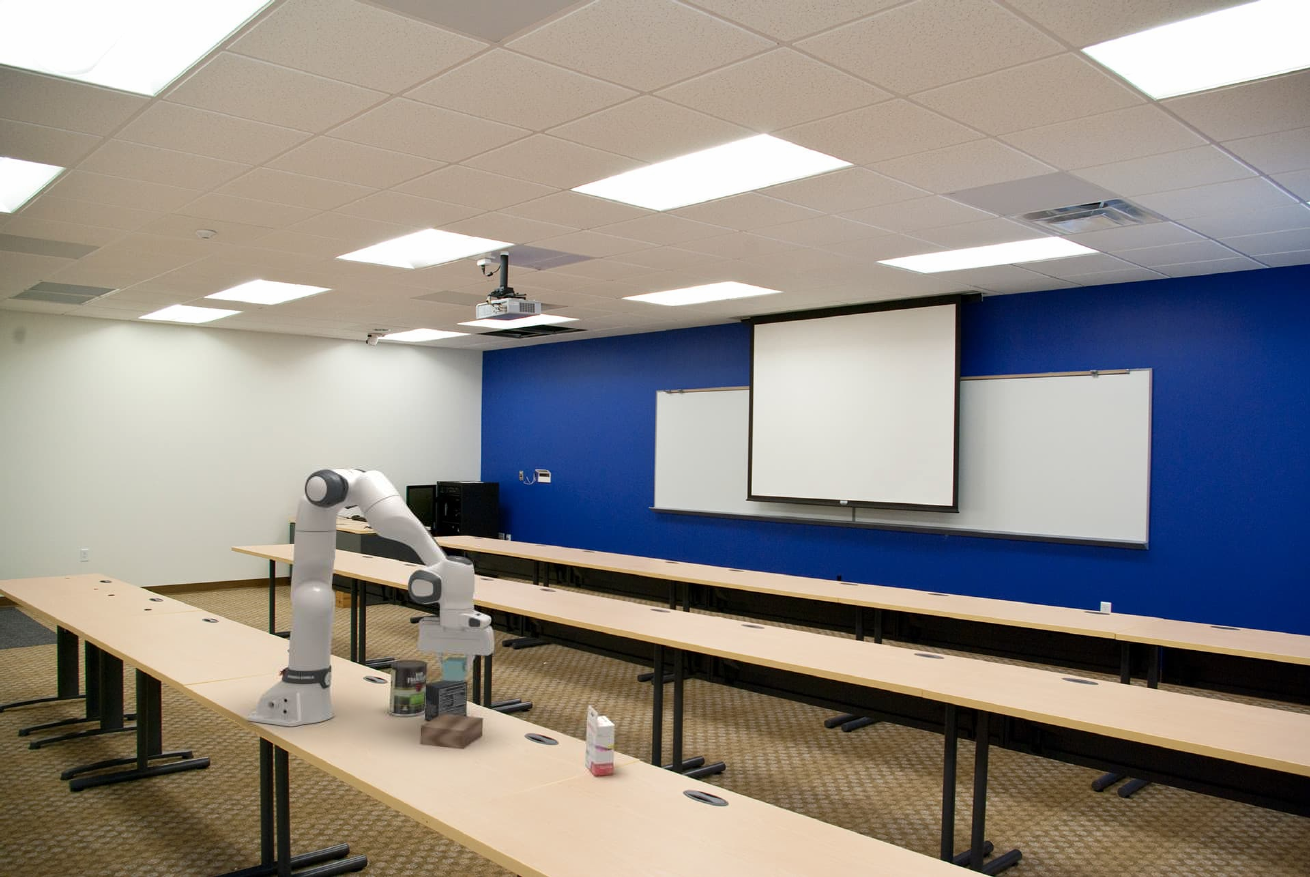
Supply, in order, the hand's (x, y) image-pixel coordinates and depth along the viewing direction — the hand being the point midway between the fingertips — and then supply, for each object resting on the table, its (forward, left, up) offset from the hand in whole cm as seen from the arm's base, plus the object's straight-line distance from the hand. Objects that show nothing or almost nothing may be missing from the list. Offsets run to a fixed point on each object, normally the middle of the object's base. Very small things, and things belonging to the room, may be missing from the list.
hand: (455, 670), depth 227 cm
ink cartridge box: (+42, -15, -18) cm, 48 cm away
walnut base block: (0, 0, -19) cm, 19 cm away
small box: (-8, +18, -19) cm, 27 cm away
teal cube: (0, 0, -2) cm, 2 cm away
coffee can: (-21, +22, -18) cm, 36 cm away
